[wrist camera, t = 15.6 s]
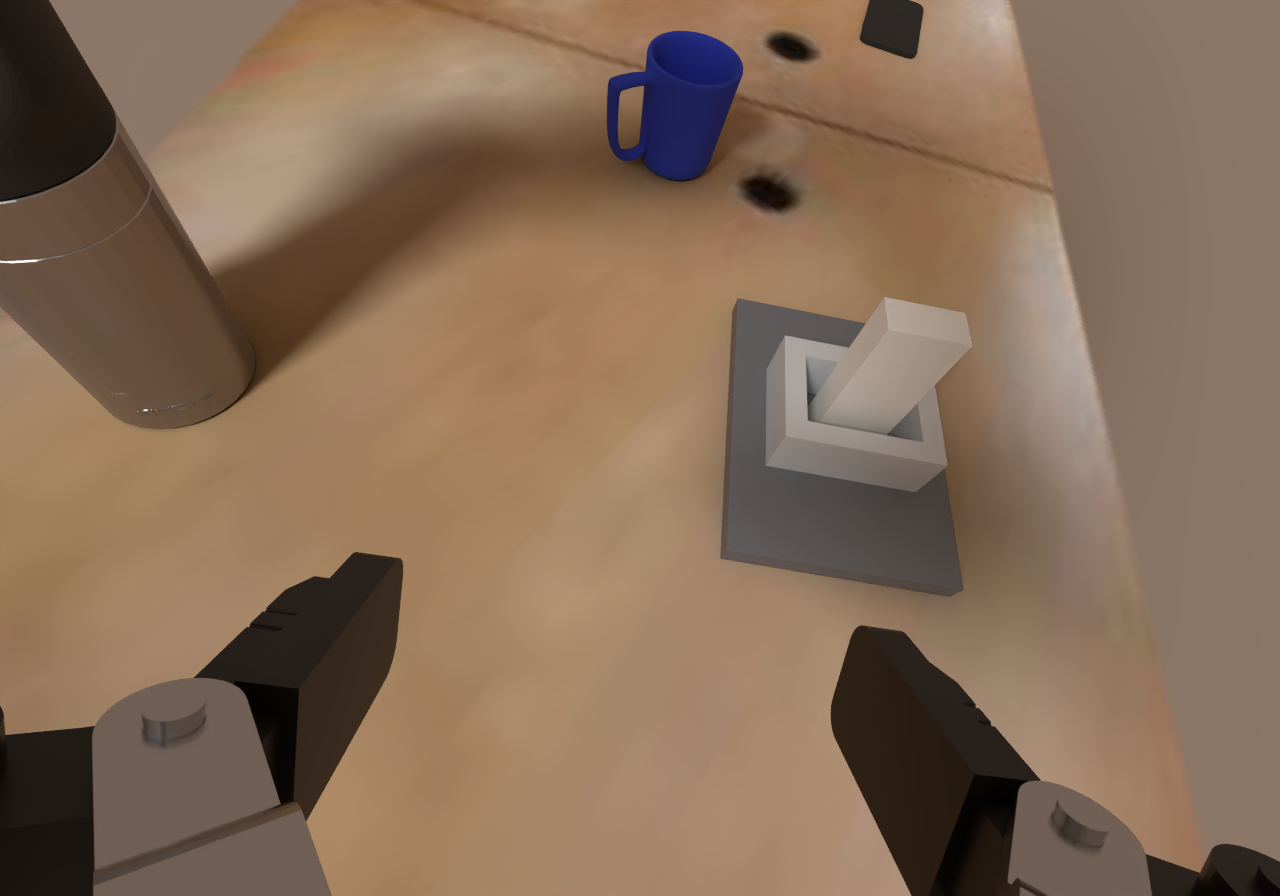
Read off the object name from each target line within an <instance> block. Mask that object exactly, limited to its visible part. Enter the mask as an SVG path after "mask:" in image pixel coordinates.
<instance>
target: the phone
mask: <svg viewBox="0 0 1280 896" xmlns="http://www.w3.org/2000/svg"><path fill="white" fill-rule="evenodd" d="M922 15H923V7H922V6H921V5H920V4H918V3H916V2H913V1H910V0H870V1H869V5H868V9H867V13H866V16H865V20H864V23H863V26H862V27H863V28H862V31H861V35H860V40H861V41H862V42H863V43H865V44H867V45H869V46H872V47H875V48H878V49H881V50H884V51H887V52H890V53H893V54H896V55H899V56H902V57H905V58H909V59H912V58H914V57H915V55H916V53H917V48H918V42H919V35H920V28H921V22H922Z"/></svg>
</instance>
